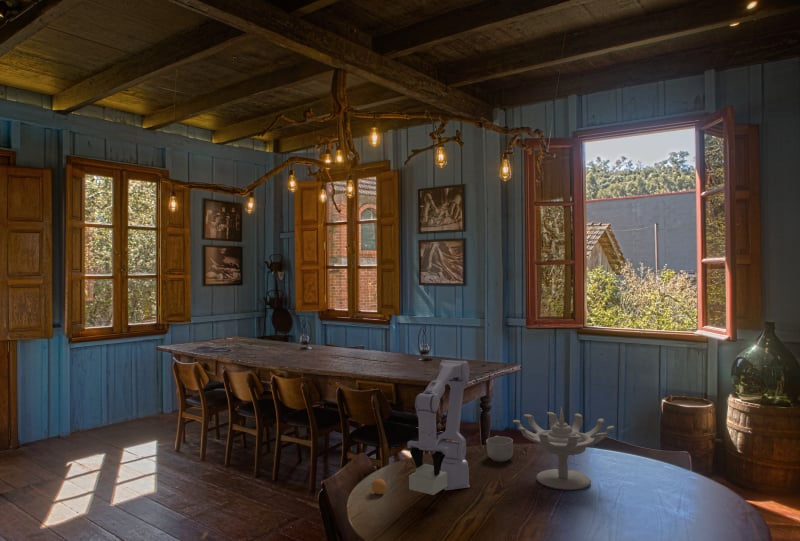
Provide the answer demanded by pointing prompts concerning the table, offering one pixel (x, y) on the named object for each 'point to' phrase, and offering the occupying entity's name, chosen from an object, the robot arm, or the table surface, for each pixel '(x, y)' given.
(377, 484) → the ball
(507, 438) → the teacup
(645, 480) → the table surface
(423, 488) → the white block
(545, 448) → the candelabra
